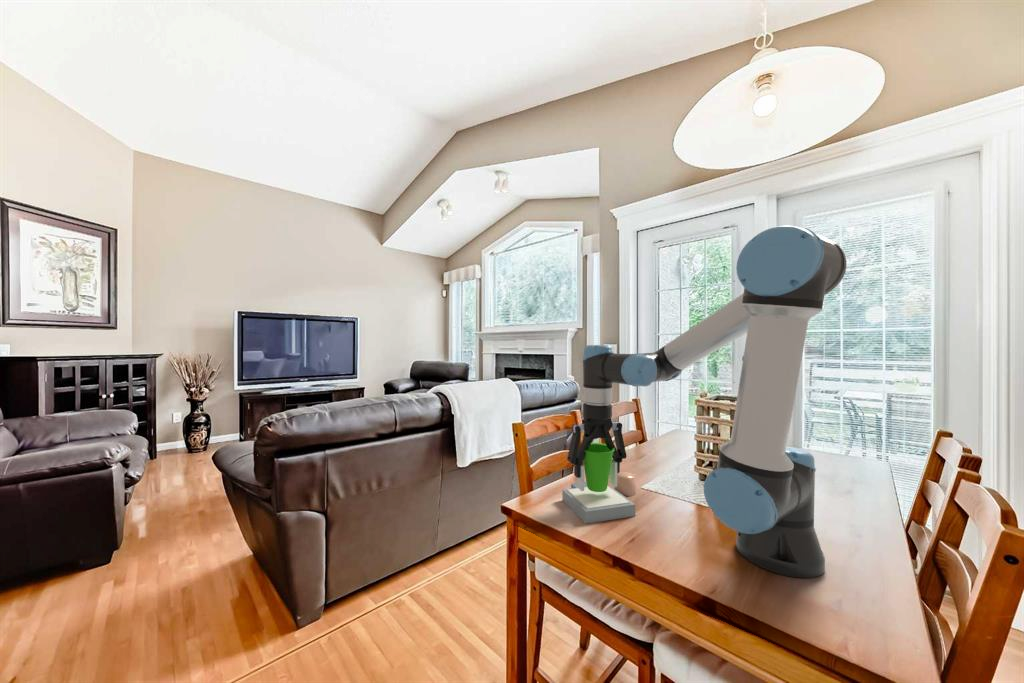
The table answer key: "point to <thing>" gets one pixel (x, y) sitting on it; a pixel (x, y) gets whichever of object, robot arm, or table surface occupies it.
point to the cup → (597, 466)
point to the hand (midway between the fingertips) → (597, 486)
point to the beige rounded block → (626, 483)
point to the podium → (598, 504)
